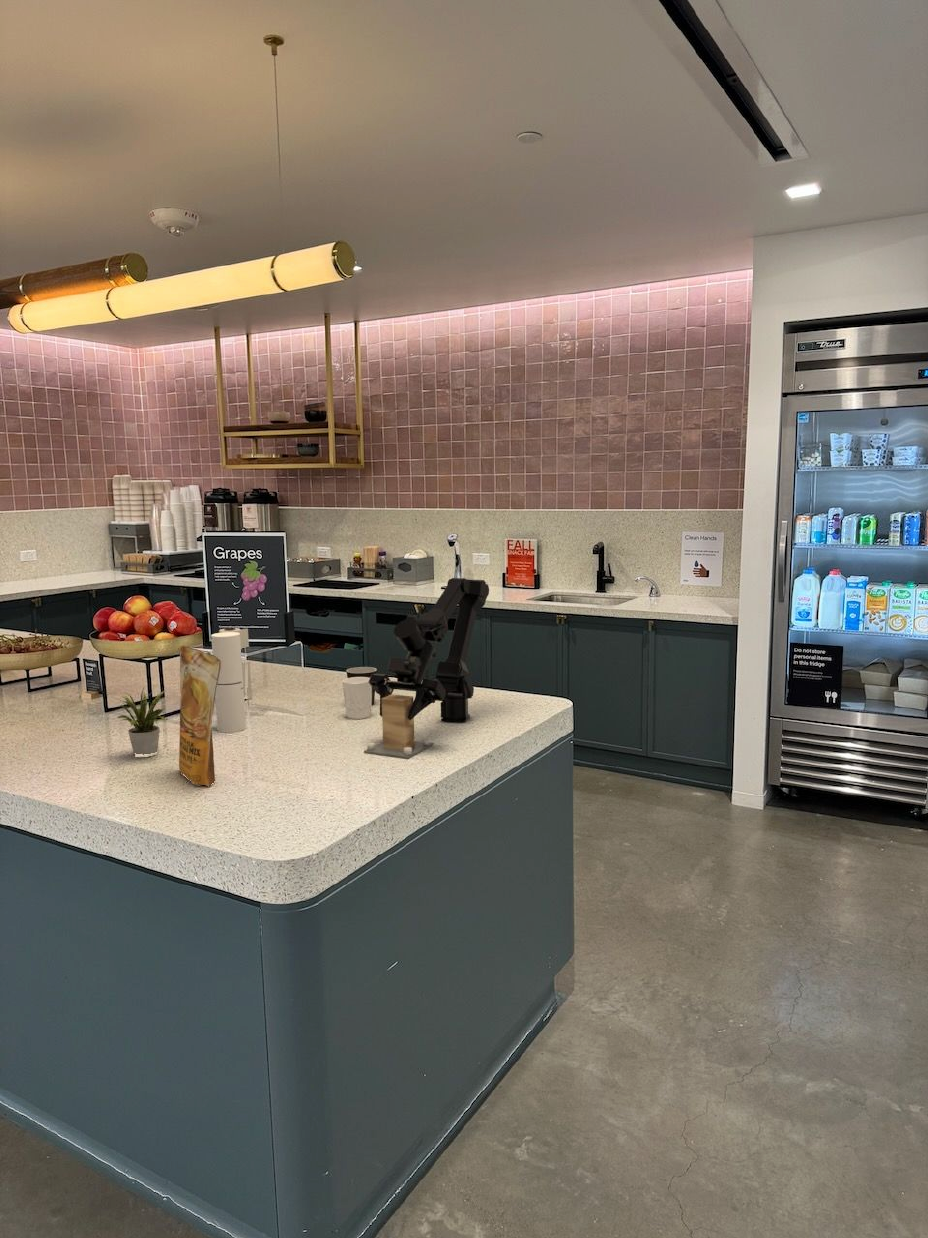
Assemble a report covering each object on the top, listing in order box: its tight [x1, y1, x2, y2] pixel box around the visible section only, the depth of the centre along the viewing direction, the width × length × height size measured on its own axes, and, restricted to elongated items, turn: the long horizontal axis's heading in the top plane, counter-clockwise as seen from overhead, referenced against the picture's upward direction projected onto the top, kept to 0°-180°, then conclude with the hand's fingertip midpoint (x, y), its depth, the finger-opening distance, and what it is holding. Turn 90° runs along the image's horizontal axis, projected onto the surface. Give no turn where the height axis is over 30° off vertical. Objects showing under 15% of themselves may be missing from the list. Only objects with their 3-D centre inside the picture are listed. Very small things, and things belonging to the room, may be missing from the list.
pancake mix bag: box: [178, 645, 221, 788], centre depth 195 cm, size 7×19×28 cm, turn 35°
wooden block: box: [381, 693, 416, 751], centre depth 213 cm, size 4×6×12 cm
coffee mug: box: [345, 666, 378, 706], centre depth 259 cm, size 12×9×10 cm
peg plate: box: [363, 736, 435, 760], centre depth 214 cm, size 12×12×2 cm
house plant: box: [112, 687, 167, 755], centre depth 212 cm, size 14×14×16 cm
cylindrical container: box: [210, 632, 247, 734], centre depth 233 cm, size 7×7×25 cm
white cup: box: [342, 677, 373, 720], centre depth 245 cm, size 8×8×10 cm
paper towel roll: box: [218, 627, 253, 700], centre depth 264 cm, size 7×6×21 cm
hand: (395, 717), depth 212 cm, fingers open, 7 cm apart
